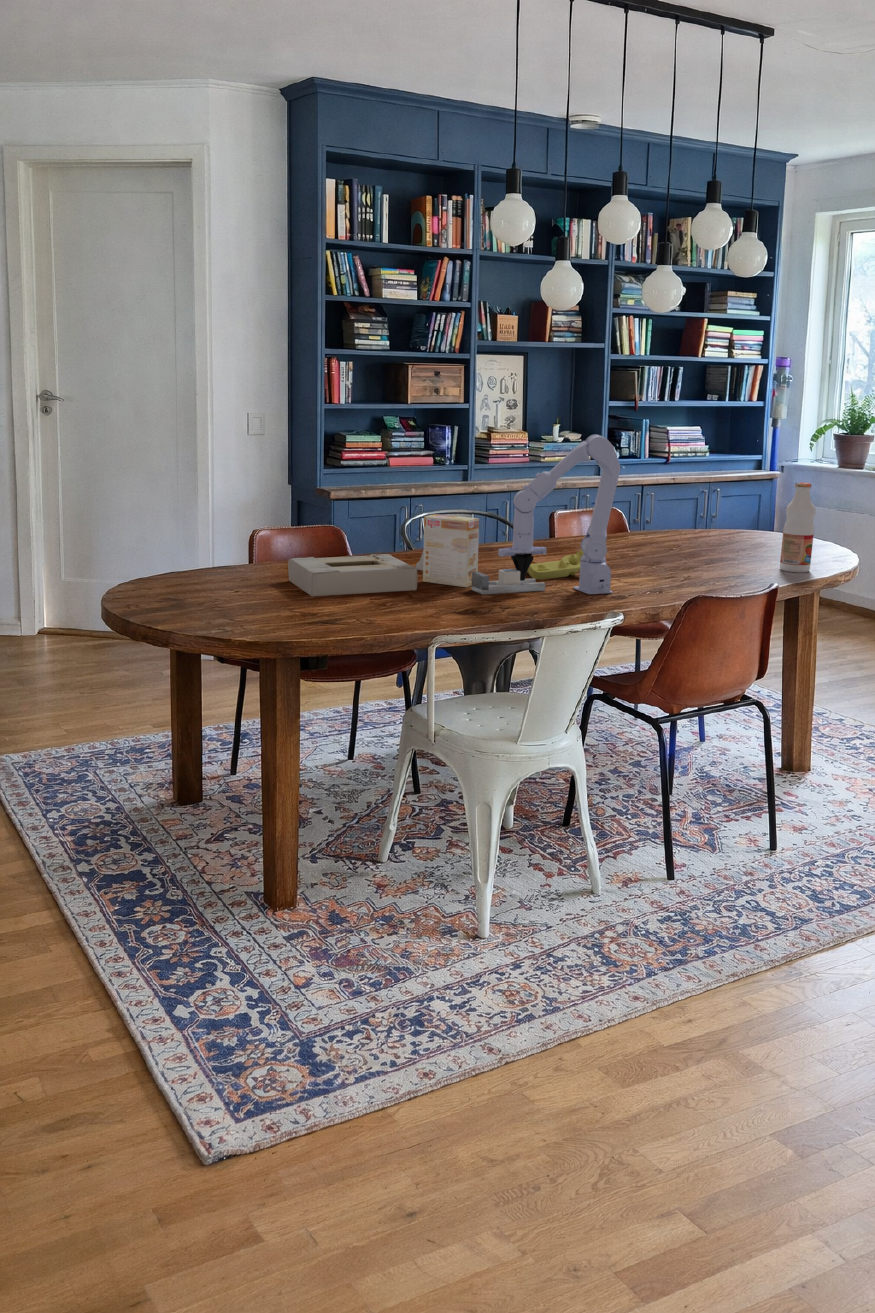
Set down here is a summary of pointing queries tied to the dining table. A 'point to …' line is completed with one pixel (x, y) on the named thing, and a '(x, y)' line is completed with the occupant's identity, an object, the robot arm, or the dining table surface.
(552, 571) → the plastic component
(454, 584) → the coffeecake box
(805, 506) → the fruit juice
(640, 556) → the dining table surface
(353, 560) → the box
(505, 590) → the rail
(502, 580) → the block
